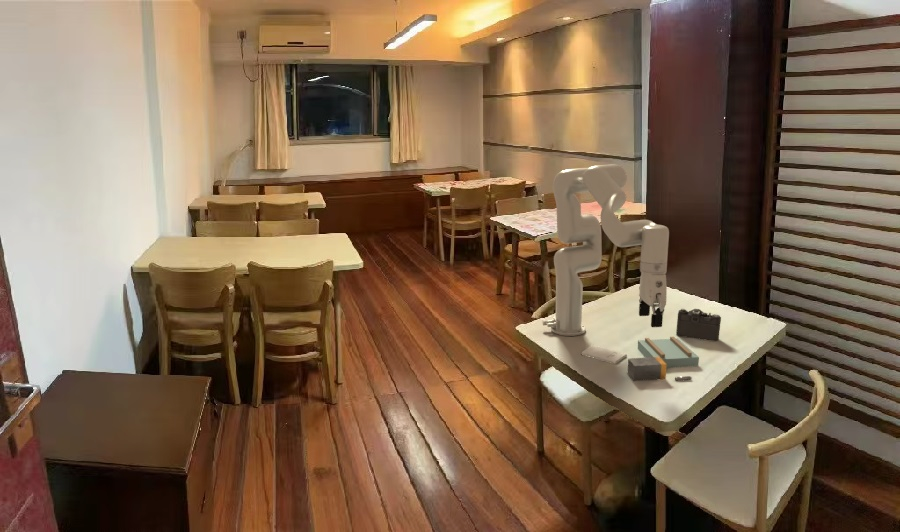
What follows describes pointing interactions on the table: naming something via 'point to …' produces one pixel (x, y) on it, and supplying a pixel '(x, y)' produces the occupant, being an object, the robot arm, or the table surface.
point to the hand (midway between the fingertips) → (650, 321)
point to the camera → (698, 325)
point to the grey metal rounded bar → (683, 378)
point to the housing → (646, 368)
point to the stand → (669, 352)
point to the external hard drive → (604, 354)
